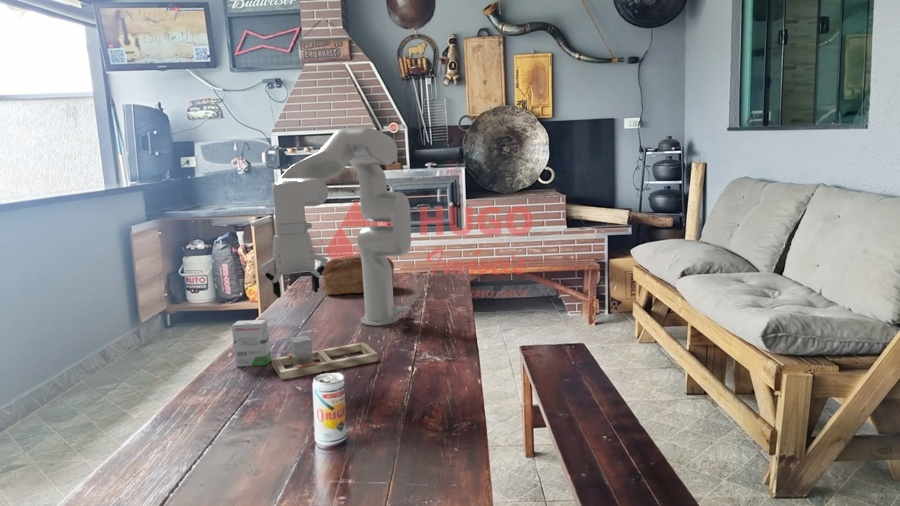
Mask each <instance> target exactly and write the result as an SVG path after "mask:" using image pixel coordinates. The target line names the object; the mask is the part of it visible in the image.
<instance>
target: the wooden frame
mask: <svg viewBox="0 0 900 506" xmlns="http://www.w3.org/2000/svg"><path fill="white" fill-rule="evenodd" d="M357 352H361V353H362V354H360V355H359V354H358V355H355V356H349V357H344V358H339V359H338V358H337V359H334V360H332V359H331V357H336V356H343V355H347V354H353V353H357ZM312 355H313V362H312V363H307V364H302V365H297V367H296V368H293V367H291V368H285V366H289V365H293V362H292V352H291V353H288V354H287V355H285V356H279V357H275V358H271V364H272V365H271V366H272V367H273V369H274V370H275V372H276V373H277V375H278V377H279V378H280V380H286V379H287V380H288V379H292V378H293V379H294V378H298V377H302V376H303V377H304V376H308V375H312V374H313V375H314V374H318V373H323V372H322V371H324V372H329V371H334V370H339V369H344V368H349V367H354V366H359V365H363V364H368V363H375V362H378V361H379V354H378V353H377V351H375V350H374V349H373V348H371V347H370V346H369V345H368V344H366V343H365V342H364V341H362V342H357V343H352V344H346V345H339V346H334V347H329V348H324V349H318V350H312ZM315 360H318V361H320V362H316V361H315Z"/></svg>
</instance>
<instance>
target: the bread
mask: <svg viewBox="0 0 900 506" xmlns="http://www.w3.org/2000/svg"><path fill="white" fill-rule="evenodd" d="M385 257H386V258H387V259H388V261H389V263H390V265H391V269H392V286H393V287H394V270H395V265H394V262H393V260H391V259H390V258H388V257H387V256H385ZM322 276H323V282H324V284H323V285H324V290H325V293H326V294H327V295H333V296H338V295H346V294H361V293H362V294H363V293H364V288H363V273H362V262H361V256H360V254H358V255H351V256H343V257H337V258H332V259H331V260H328V261H327V264H326V266H325V269H324V271H323V272H322Z"/></svg>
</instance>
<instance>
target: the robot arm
mask: <svg viewBox="0 0 900 506" xmlns="http://www.w3.org/2000/svg"><path fill="white" fill-rule="evenodd" d="M397 156H398V146H397V143H396V141H395V140H394V139H393V138H392V137H391V136H390V135H388V134H385V133H384V132H381V131H380V130H377V129H376V128H372V127H368V126H367V127H365V126H362V127H359V126H358V127H344V128H339V129H337V130H336V131H335V132H334V133H333V134H332V135H331V136H330V137H329V139H328V140H327V141H325V143H324V144H323V146H322V147H321V148H320V149H319V150H318V151H317V152H316V153H314V154H312V155H311V154H310V155H309V156H307V157H306V158H303V159H302V160H300V161H298V162H295V163H294V164H292V165H291V166H289V168H287V169H286V170H285V171H284V172H283V173H282V174H281V176H280V177H279V178H278V180H277V181H275V182H274V183H273V185H272V197H273V198H272V199H273V208H274V220H275V229H276V234H274V235H273V237H272V238H273V239H272V258H271V259H269V260H268V261H266V262H265V263H263V264H261V265H260V266H259V269H260V270H261V271H262V272H261V273H262V274H263V275H264V276H265V277H266V279H269V281H270V282H271V283H272V292H273V295H275V296H276V297H277V298H278V299H279V298H281V297H282V293H281V283H280V282H279V280H280V279H281V277H282V276H283V275H290V274H300V273H307V272H310V273H311V274H312V275H311V276H310V278H311V289H312V291H313V292H314V293H318V292H319V289H320V277H321V274H323V271H324V269H325V266H326V264H327V262H328V261H329V259H327V258H326V257H323V256H321V255H319V254H315V253H314V246H313V243H312V239H311V235H310V233H309V232H308V230H309V229H312V227H313V226H312V222H308V221H307V220H306V209H305V208H306V207H317V206H321V205H323V204H324V203H325V202H326V201H327V199H328V196H329V189H328V188H329V187H328V185H327V184H326V182H325V181H326V180H330V179H332V178H335V177H337V176H339V175H340V174H341V173H342V172H343V171H344V169H345V168H346V166H348V163H349V164H350V166H352V167H353V169H354V171H355V172H356V175H357V176H358V180H359V181H358V182H359V183H358V184H359V196H360V197H359V199H360V200H359V201H360V211H361V212H360V213H361V217H362V218H363V220H365V221H368V222H372V223H373V222H375V223H377V222H379V223H391V224H392V225H369V226H364V227H363V228H361V229H360V230H359V231H358V233H357V238H356V242H357V247H358V251H359V255H360V256H361V262H362V273H363V288H364V292H363V300H364V302H363V303H364V315H363V316H361V318H360V322H361V324H363V325H366V326H372V327H373V326H375V327H379V326H380V327H381V326H387V325H392V324H394V323H397V322H398V321H399V320H400V313H408V312H409V307H408V306H407V305H405V306H401V305H399V306H398V305H394V304H395V303H394V290H393V288H394V285H393V286H392V269H391V265H390V263H389V261H388V259H387V258H388V257H389V256H391V257H402V256H405V255H407V254H408V253H409V252H410V250H411V245H412V229H411V228H412V227H411V206H410V200H409V198H408V197H407V196H406V195H405V194H404V193H403V192H399V191H388V190H387V176H386V174H385V171H384V170H383V168H382V167H381V166H382V165H383V166H385V165H386V166H387V165H391V164H392V163H394V162H395V161H396V159H397ZM387 256H388V257H387ZM386 257H387V258H386ZM316 261H318V262H319V263H320V264H319V265H318V267H317V268H316ZM272 266H273V270H274V272H273V274H271V273H270V272H269V270H268V269H269V268H271V267H272Z"/></svg>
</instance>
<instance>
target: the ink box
mask: <svg viewBox="0 0 900 506" xmlns="http://www.w3.org/2000/svg"><path fill="white" fill-rule="evenodd" d="M231 332H232V339H233V340H232V341H233V348H234V351H233V352H234V358H235V366H236V367H237V368H238V367H256V366H257V367H259V366H260V367H261V366H268V365H269V363H270V362H272V354H271V344H270V337H269V336H270V335H269V327H268V319H260V320H259V319H253V320H237V321H235V323H233V324H232V325H231Z"/></svg>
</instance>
